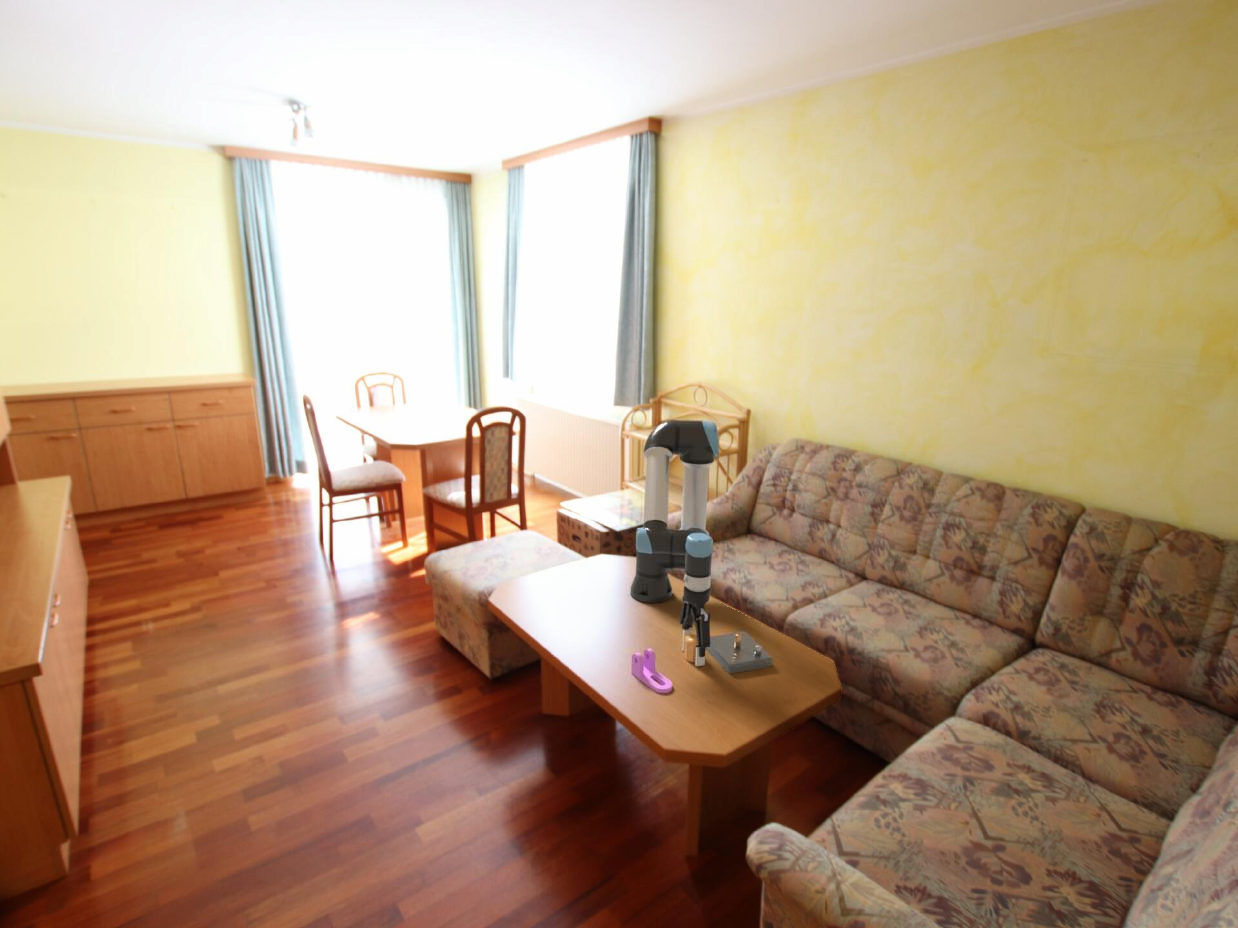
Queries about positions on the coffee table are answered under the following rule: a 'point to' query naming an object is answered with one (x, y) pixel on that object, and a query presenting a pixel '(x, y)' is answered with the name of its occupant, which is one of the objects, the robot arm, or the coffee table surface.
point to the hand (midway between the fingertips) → (693, 656)
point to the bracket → (649, 672)
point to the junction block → (738, 652)
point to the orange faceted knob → (690, 647)
